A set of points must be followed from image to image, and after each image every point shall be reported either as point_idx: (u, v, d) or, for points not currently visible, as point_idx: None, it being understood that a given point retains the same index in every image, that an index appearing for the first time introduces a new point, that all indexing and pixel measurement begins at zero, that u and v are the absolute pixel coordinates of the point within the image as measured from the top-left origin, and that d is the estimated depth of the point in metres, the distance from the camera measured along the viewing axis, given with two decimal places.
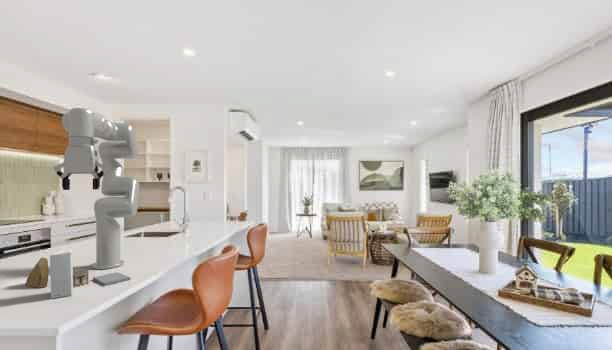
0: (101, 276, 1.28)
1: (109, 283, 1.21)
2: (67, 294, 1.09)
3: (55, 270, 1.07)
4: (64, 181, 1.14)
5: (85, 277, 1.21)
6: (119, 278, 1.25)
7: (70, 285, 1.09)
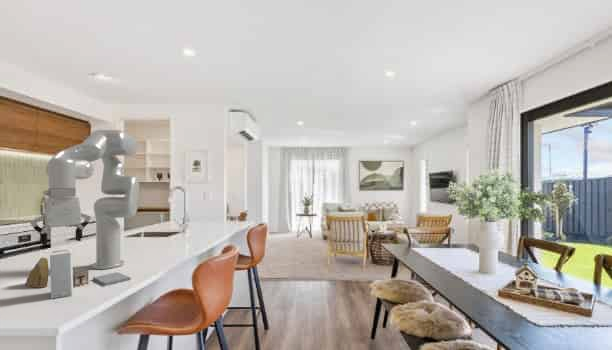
0: (101, 276, 1.28)
1: (109, 283, 1.21)
2: (67, 294, 1.09)
3: (55, 270, 1.07)
4: None
5: (85, 277, 1.21)
6: (119, 278, 1.25)
7: (70, 285, 1.09)
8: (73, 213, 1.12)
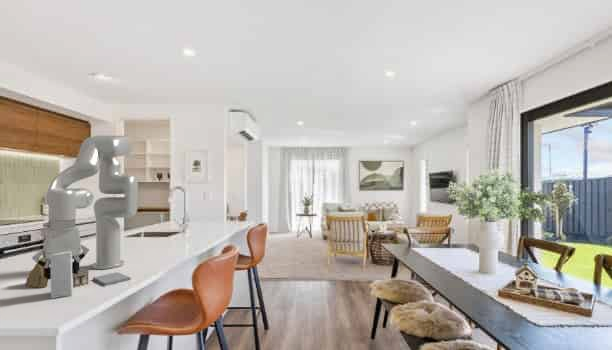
0: (101, 276, 1.28)
1: (109, 283, 1.21)
2: (67, 294, 1.09)
3: (55, 270, 1.07)
4: None
5: (85, 277, 1.21)
6: (119, 278, 1.25)
7: (70, 285, 1.09)
8: (73, 244, 1.12)
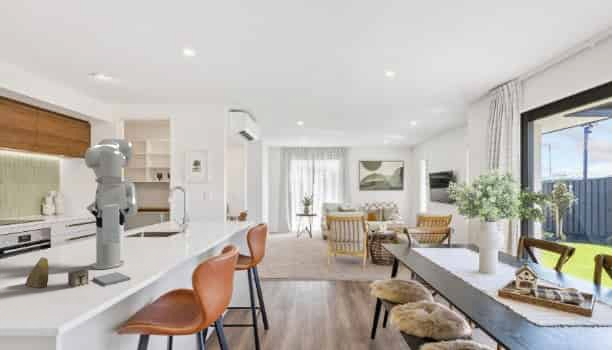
0: (101, 276, 1.28)
1: (109, 283, 1.21)
2: (116, 241, 1.24)
3: (106, 219, 1.23)
4: None
5: (85, 277, 1.21)
6: (119, 278, 1.25)
7: (118, 233, 1.25)
8: (120, 199, 1.27)
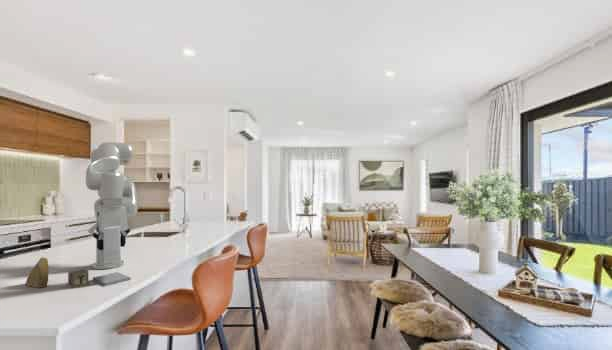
0: (101, 276, 1.28)
1: (109, 283, 1.21)
2: (117, 263, 1.24)
3: (107, 242, 1.23)
4: None
5: (85, 277, 1.21)
6: (119, 278, 1.25)
7: (119, 255, 1.25)
8: (121, 220, 1.27)
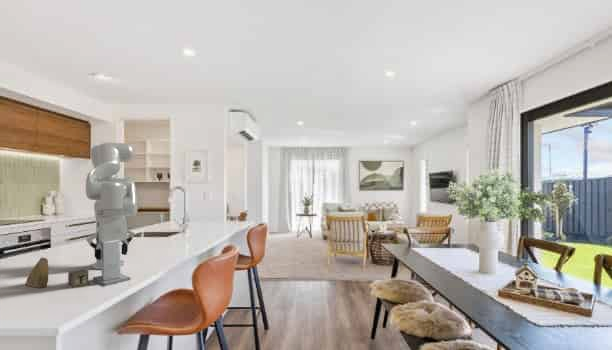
0: (101, 276, 1.28)
1: (109, 283, 1.21)
2: (117, 277, 1.24)
3: (107, 256, 1.23)
4: None
5: (85, 277, 1.21)
6: (119, 278, 1.25)
7: (119, 269, 1.25)
8: (121, 230, 1.27)
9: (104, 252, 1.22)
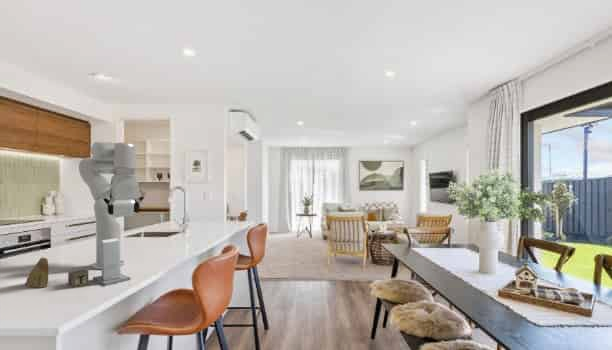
0: (101, 276, 1.28)
1: (109, 283, 1.21)
2: (117, 277, 1.24)
3: (107, 256, 1.23)
4: None
5: (85, 277, 1.21)
6: (119, 278, 1.25)
7: (119, 269, 1.25)
8: (133, 189, 1.34)
9: (104, 252, 1.22)
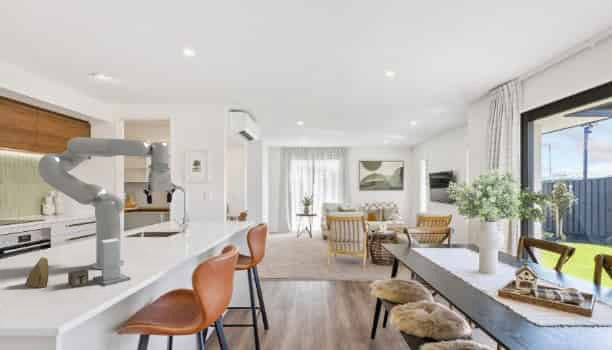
0: (101, 276, 1.28)
1: (109, 283, 1.21)
2: (117, 277, 1.24)
3: (107, 256, 1.23)
4: None
5: (85, 277, 1.21)
6: (119, 278, 1.25)
7: (119, 269, 1.25)
8: (167, 182, 1.55)
9: (104, 252, 1.22)
